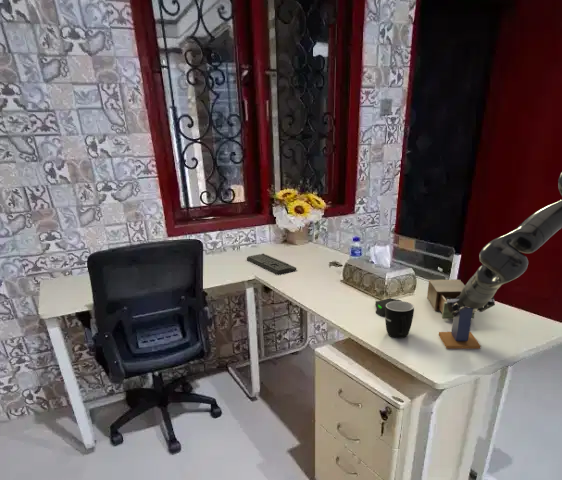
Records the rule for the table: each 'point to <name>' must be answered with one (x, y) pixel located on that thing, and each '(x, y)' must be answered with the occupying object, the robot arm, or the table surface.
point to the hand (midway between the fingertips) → (460, 313)
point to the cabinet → (442, 290)
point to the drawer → (443, 305)
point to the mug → (398, 318)
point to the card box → (462, 325)
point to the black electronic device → (383, 306)
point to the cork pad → (453, 344)
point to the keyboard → (271, 264)
